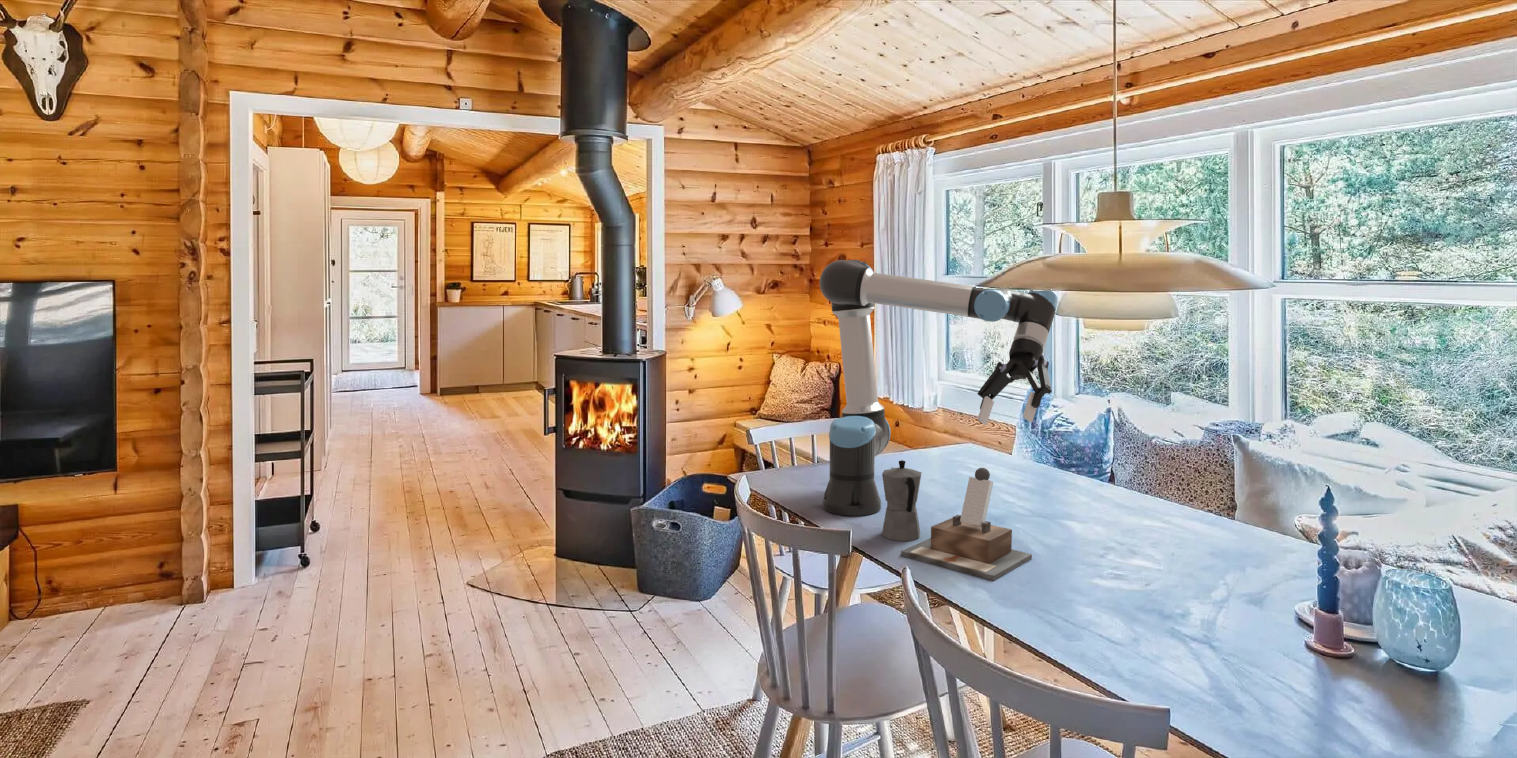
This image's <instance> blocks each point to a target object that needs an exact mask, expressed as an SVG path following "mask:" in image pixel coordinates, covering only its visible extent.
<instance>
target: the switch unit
mask: <svg viewBox="0 0 1517 758" xmlns="http://www.w3.org/2000/svg"><path fill="white" fill-rule="evenodd" d="M960 518H961V515H959V514H956V515H954V516H952V517H951V518H949V519H946V520H944V521H941V522H939V523H937V524H935V525H933V526H930V538H927V539H925V540H923V541H921V542H918V543H917V544H914V545H912V546H909V547H907V548H905V549H902V550H901V551H900V556H902V557H906V558H909V559H913V560H916V561H920V562H922V563H923V562H924V563H928V564H932V565H935V566H938V567H943V568H945V569H951V570H953V569H954V571H956V570H957V572H961V573H964V574H967V573H968V575H972V576H975V577H979V578H983V579H986V580H989V581H993V580H994V581H996V580H997V579H999V578H1001V577H1003V576H1004V575H1006V574H1008V573H1010V572H1012V571H1013V570H1014V569H1016V568H1018V567H1020V566H1022V565H1023V564H1025V563H1027V562H1029V561H1030V560H1032V559H1033V558H1032V557H1033V554H1032V553H1029V552H1025V551H1021V550H1020V551H1019V550H1017V549H1013V548H1012V545H1013V543H1012V542H1013V541H1012V539H1013V529H1011V528H1007V527H1003V526H999V525H998V526H997V525H993V524H991V523H992V522H991V521H989V520H985V522H983V523H982V527H981V526H977V525H972V524H968V523H964V522H960Z"/></svg>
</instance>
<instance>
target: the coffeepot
mask: <svg viewBox="0 0 1517 758" xmlns="http://www.w3.org/2000/svg"><path fill="white" fill-rule="evenodd" d="M898 466H899V467H891V468H890V469H884V470H883V471H882V473H881V474H882V475H881V476H882V483H883V491H884V497H885V501H886V510H885V515H884V520H883V526H882V529H881V530H882V532H881V536H883V537H884V538H885V539H888V540H891V541H894V542H911V541H915V540H918V539H919V538H920V536H921V529H920V528H921V527H920V522H919V515H918V509H917V501H918V497H919V492H920V485H921V478H922V471H918V470H915V469H913V468H907V467H905V466H906V460H903V459H901V460H899V461H898Z"/></svg>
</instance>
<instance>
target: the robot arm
mask: <svg viewBox="0 0 1517 758" xmlns="http://www.w3.org/2000/svg"><path fill="white" fill-rule="evenodd" d="M976 287H977V286H974V287H973V285H967V284H961V283H960V284H959V283H951V282H945V281H938V280H937V281H936V280H929V279H922V278H917V277H909V276H907V277H906V276H901V275H892V274H886V273H878V272H874V270H873V269H872V268H871V266H870V265H868V264H867V263H865V262H864V261H860V260H858V259H849V260H848V259H847V260H846V259H839V260H835V261H832V262H830V263H829V264H827V265H825V267H824V268H823V270H822V272H821V274H820V277H819V288H820V289H819V290H820V291H821V294H822V295H823V297H824V298H825V299H826V300H827V301H829V302H830V304H831V313H832V314H833V315H835V316H836V317H837V320H838V328H839V330H838V331H839V338H840V348H841V361H842V368H843V369H842V370H843V380H844V381H843V382H844V388H845V389H844V390H845V399H846V400H845V401H846V405H845V406H844V407H843V409H842V410H841V416H842V417H838V418H836V419H833V421H832V422H831V424H830V427H829V432H828V438H829V479H828V483H827V485H826V489H825V491H824V495H823V498H822V508H823V510H824V511H826V512H828V513H831V514H835V515H840V516H850V517H853V516H854V517H855V516H856V517H857V516H867V515H872V514H876V513H878V512H880V511H881V509H882V499H881V497H880V494H879V491H878V487H877V484H876V480H875V457H877V456H878V455H879V454H881V453H882V452H883V451H884V450H885V449H886V448H887V446H888V444H889V441H890V439H891V427H890V424H889V422H888V420H887V419H886V414H885V407H884V405H883V404H881V403H880V402H879V397H878V396H879V395H878V388H877V386H878V385H877V375H876V366H875V356H874V355H875V354H874V345H873V333H872V325H871V324H872V323H871V314H872V312H873V311H874V309H875V308H876V306H875V304H878V305H885V306H891V307H899V308H904V309H912V310H919V311H920V310H921V311H926V312H933V313H938V314H939V313H940V314H944V315H945V314H947V315H954V316H960V317H968V318H973V319H979V320H983V321H985V322H992V323H994V322H997V321H1001V320H1006V321H1009V322H1010V321H1011V322H1014V323H1018V324H1017V327H1016V331H1015V333H1014V336H1013V341H1012V343H1011V345H1010V348H1009V352H1008V354H1009V355H1008V356H1009V360H1008V362H1007V363H1002V362H1001V361H999V362H997V364H996V366H995V369H994V370H993V372H992V373H991V374H990V375H989V377H988V378H987V379H986V381H985V382H984V384H983V385H982V386H981V388H980V389H979V390H978V391H977V395H978V396H979V397H980V398H982V399H981V403H980V405H979V406H980V407H979V413H978V416H977V419H976V420H977V421H978V422H979V423H982V425H984V426H987V425H988V421H989V420H990V419H989V418H990V416H991V413H992V410H993V406H994V404H995V401H994V399H995V397H997V396H998V394H1000V393H1001V392H1002V391H1004V390H1003V389H1005V388H1006V387H1007V386H1008V385H1009V384H1011V383H1013V382H1015V381H1019V380H1026V379H1027V381H1028V383H1029V385H1030V387H1031V389H1032V391H1030V392H1029V394H1028V395H1029V396H1028V398H1027V401H1026V403H1025V408H1024V411H1023V414H1022V418H1023V419H1025V420H1026V421H1027V422H1028V423H1033V421H1034V418H1035V415H1036V412H1037V408H1038V409H1039V407H1040V405H1041V402H1042V399H1043V397H1044V396H1045V395H1046V394H1048V395H1050V394H1051V393H1052V391H1053V390H1052V389H1053V388H1052V384H1051V381H1050V374H1049V364H1050V363H1049V361H1048V359H1046V358H1045V357H1043V353H1044V349H1045V346H1046V343H1047V340H1048V336H1049V333H1050V331H1051V327H1052V324H1053V321H1054V318H1055V315H1056V312H1057V307H1058V303H1059V297H1058V294H1057V293H1056V292H1055V291H1054V290H1053V291H1033V290H1031V289H1029V291H1028V292H1027V293H1026V292H1019V291H1015V290H1011V289H1007V288H1004V289H983V288H976ZM1055 311H1056V312H1055ZM1036 369H1037V373H1038V378H1039V381H1038V379H1037V376H1036V374H1035V372H1034V371H1035V370H1036Z"/></svg>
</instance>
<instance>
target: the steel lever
mask: <svg viewBox="0 0 1517 758" xmlns="http://www.w3.org/2000/svg"><path fill="white" fill-rule="evenodd" d="M990 476H991V474H990V471H989V470H988V469H987V468H986V467H979V468H977V469H976V470H975V473H974V477H972V476H969V478H968V482H967V485H966V487H967V488H966V491H965V496H964V501H963V505H962V510H961V518H960V522H964V523H968V524H972V525H977V526H981V527H982V523H983V522H985V521H987V520H986V518H987V514H988V510H989V504H990V500H991V495H992V490H993V486H994V481H992V480H989V479H990V478H991V477H990Z"/></svg>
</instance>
